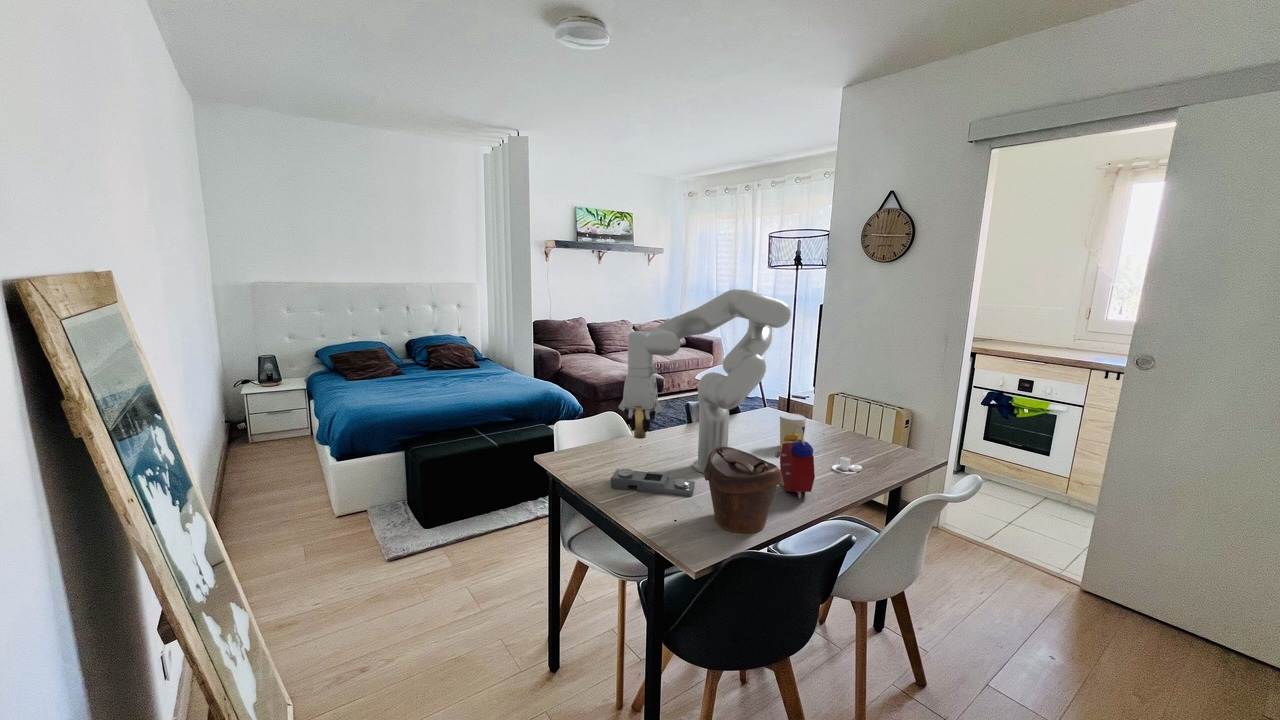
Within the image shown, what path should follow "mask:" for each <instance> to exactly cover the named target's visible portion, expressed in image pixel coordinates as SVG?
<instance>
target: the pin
mask: <svg viewBox="0 0 1280 720" xmlns="http://www.w3.org/2000/svg"><path fill="white" fill-rule="evenodd" d="M635 407H638V408H642V406H641V404H635ZM645 419H646V414H645V410H642V409H634V431H633V436H634V437H633V438H634V439H637V440H639V439H640V440H643V439H645V438H646V437H647V432H644V420H645Z"/></svg>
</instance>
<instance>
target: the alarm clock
mask: <svg viewBox="0 0 1280 720" xmlns="http://www.w3.org/2000/svg"><path fill="white" fill-rule="evenodd" d="M796 427H799V429H800V431H801V433H802V436H801V435H799V434H795V432H796ZM784 441H793V443H785V444H783V445H782V448H781V451H779V450H778V451H776V452H775V455H774V457H775V458H776V459H778V458H779V464H780V465H779V466H780V467H779V469H780V470H781V472H782V477H783V482H784V487H783V489H784V491H785V492H792V493H793V492H794V493H797V497H798V499H802V493H811V492H812V489H813V486H814V482H815V477H816V476H815V462H814V448H813V447H812V445H811V444H810V443H809V442H808V441H805V439H803V432H802V430H801V428H800V426H795V428H794V431H793V433H792V434H788V435H786V436H785V438H784ZM795 441H798V442H795Z"/></svg>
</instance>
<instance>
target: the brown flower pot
mask: <svg viewBox="0 0 1280 720" xmlns="http://www.w3.org/2000/svg"><path fill="white" fill-rule="evenodd" d="M703 475H704V480H705V481H706V482H707V481H708V487H709V492H710V497H711V503H712V508H713V514H714V515H713V516H714V519H715V521H716V523H717V525H718V526H720V527H722V529H724V530H727V531H729V532H734V533H739V534H740V533H741V534H754V533H758V532H760V531H762V530H763V529H764V528H765V527H766V524H767V519H768V515H769V513H770V509H771V506H772V503H773V500H774V496H775V493H776V488H777V487H778V486H779V487H780V488H784V482H783V477H782V472H781V470H780V468H779V466H777V465H776V464H773V463H771V462H769V461H767V460H764V459H762V458H760V457H757V456H755V455H753V454H752V453H748V452H746V451H743V450H740V449H739V448H738V449H737V448H734V447H731V446H728V447H725V446H722V447H717V448H715V449H714V450H713V451H712V452H711V453H710V455H709V457H708V461H707V464H706V467H705V469H704V473H703Z"/></svg>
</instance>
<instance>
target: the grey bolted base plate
mask: <svg viewBox="0 0 1280 720" xmlns="http://www.w3.org/2000/svg"><path fill="white" fill-rule="evenodd" d="M669 477H670V474H669V472H668V473H667V472H656V471H638V470H633V469H630V468H619V469H618V468H617V469H616V470H615V472H614V473H613V474H612V476H611V477H610V488H611V489H613V490H614V489H616V490H625V491H627V490H629V488H630V487H631V486H636V492H638V493H648V494H657V495H659V494H663V495H664V494H665V495H675V496H676V495H677V496H683V497H684V496H685V497H693V494H694V491H695V487H696V486H695V485H696V482H695V481H693V480H688V479H685V478H677V479H671V478H670V479H669Z"/></svg>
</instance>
